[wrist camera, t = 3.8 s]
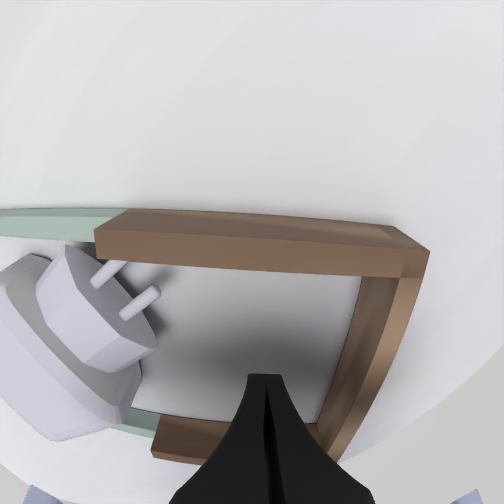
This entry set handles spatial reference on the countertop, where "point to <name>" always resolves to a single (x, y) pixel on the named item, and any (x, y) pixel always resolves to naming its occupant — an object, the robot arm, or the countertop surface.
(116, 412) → the charger
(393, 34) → the countertop surface
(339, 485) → the robot arm
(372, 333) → the brown wooden u-shaped frame
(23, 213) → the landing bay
